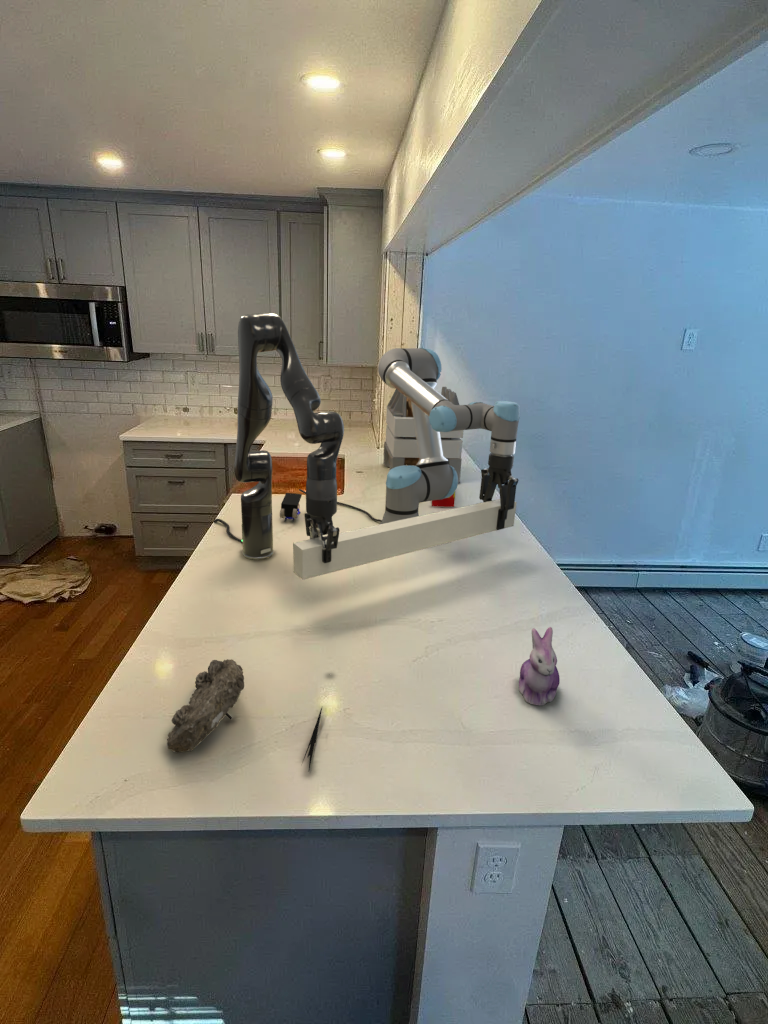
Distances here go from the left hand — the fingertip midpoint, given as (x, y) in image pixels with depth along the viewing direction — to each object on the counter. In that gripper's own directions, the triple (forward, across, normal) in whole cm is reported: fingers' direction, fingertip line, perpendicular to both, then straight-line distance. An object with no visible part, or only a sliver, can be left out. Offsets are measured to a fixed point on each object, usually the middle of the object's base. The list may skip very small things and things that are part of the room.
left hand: (321, 557), depth 144 cm
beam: (+3, 0, +31) cm, 31 cm away
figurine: (+15, +54, +22) cm, 60 cm away
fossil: (+15, +26, -38) cm, 48 cm away
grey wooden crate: (+14, -90, +104) cm, 139 cm away
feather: (+15, +37, -21) cm, 45 cm away
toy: (+15, -58, +89) cm, 107 cm away
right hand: (+3, 0, +62) cm, 62 cm away
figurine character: (+14, -64, +23) cm, 70 cm away
